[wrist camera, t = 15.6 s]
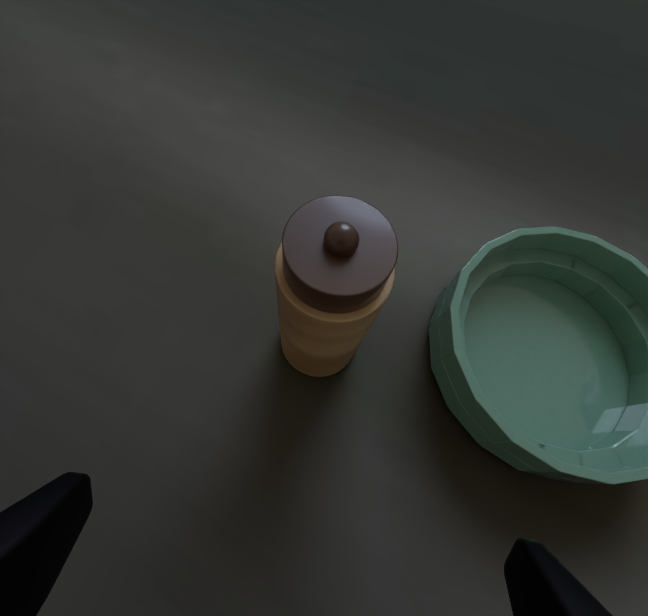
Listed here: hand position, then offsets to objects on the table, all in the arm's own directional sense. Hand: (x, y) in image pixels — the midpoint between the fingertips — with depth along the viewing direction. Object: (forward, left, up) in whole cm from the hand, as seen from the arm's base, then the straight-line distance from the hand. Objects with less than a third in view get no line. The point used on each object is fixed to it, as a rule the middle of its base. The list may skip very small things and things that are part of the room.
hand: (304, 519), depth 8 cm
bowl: (+5, -16, -13) cm, 21 cm away
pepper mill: (+8, -2, -13) cm, 15 cm away
